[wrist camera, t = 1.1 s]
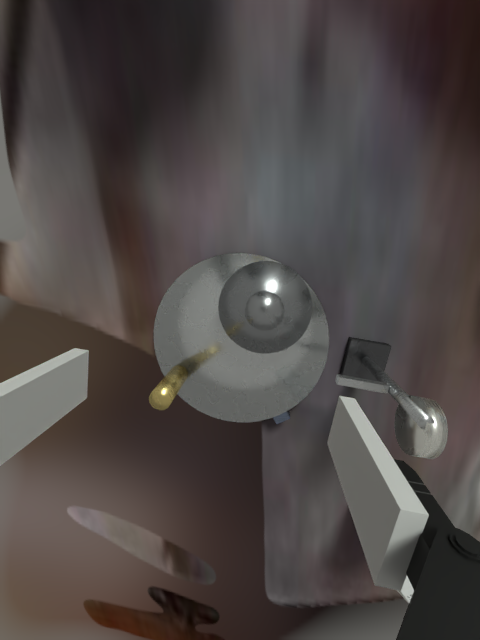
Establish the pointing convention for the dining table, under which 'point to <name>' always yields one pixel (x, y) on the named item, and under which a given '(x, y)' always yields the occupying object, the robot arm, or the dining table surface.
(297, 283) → the cover
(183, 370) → the turntable
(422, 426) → the rod on square base
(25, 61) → the dining table surface
